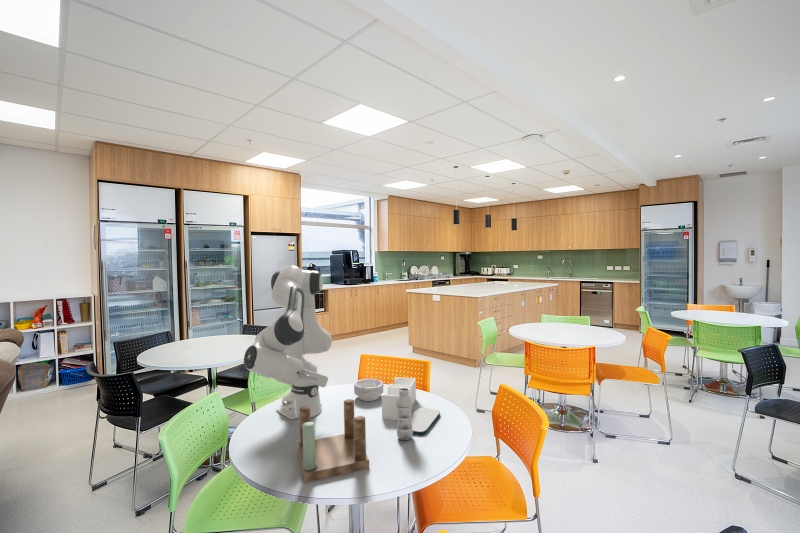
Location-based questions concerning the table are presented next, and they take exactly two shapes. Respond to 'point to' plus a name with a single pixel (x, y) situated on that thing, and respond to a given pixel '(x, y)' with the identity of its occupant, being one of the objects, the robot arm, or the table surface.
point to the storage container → (393, 393)
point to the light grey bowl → (368, 389)
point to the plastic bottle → (404, 415)
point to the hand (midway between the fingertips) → (321, 381)
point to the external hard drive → (423, 420)
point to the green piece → (309, 446)
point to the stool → (337, 447)
